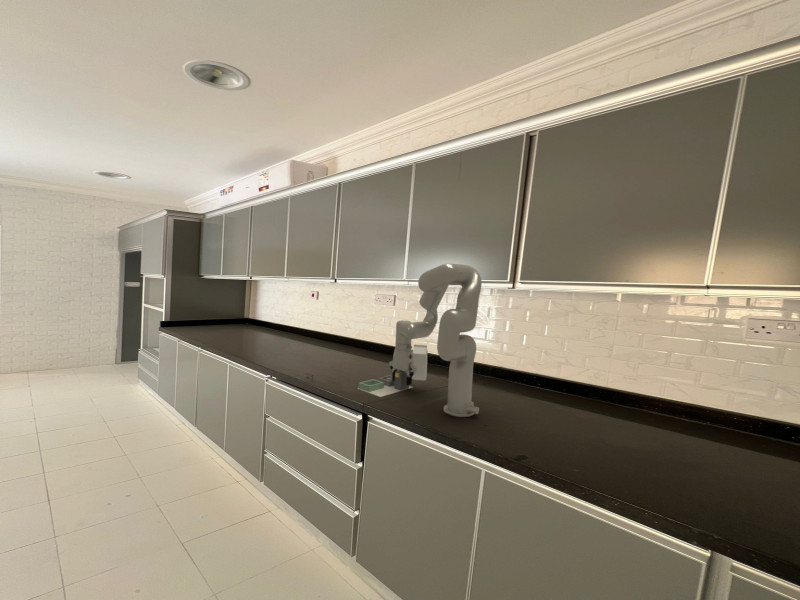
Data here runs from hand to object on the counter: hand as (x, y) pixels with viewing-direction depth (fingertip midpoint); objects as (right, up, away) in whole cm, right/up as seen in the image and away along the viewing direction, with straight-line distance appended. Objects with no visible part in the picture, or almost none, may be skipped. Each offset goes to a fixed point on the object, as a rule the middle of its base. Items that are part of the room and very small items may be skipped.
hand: (401, 382), depth 168 cm
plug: (0, -3, 0) cm, 3 cm away
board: (-8, -4, 0) cm, 9 cm away
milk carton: (+9, -4, +19) cm, 21 cm away
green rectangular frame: (-14, -2, -1) cm, 15 cm away
